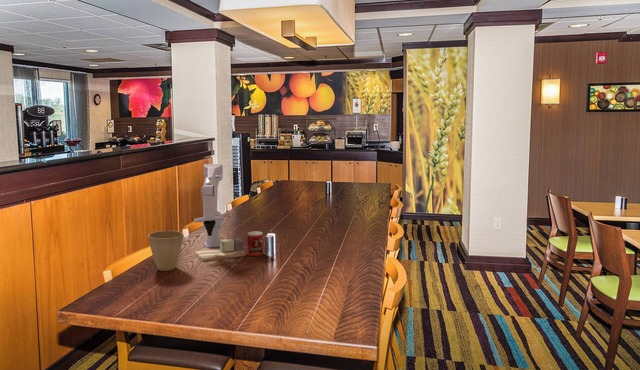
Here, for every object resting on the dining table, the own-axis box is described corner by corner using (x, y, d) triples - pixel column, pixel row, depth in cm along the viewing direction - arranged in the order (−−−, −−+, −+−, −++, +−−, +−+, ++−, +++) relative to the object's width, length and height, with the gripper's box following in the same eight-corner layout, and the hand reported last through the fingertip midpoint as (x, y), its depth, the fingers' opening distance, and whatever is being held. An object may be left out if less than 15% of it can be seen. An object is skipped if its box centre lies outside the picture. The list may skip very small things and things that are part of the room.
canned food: (248, 257, 244) (248, 235, 243) (246, 252, 252) (246, 231, 250) (264, 255, 246) (264, 234, 245) (261, 251, 254) (261, 230, 253)
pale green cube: (219, 249, 250) (219, 239, 249) (231, 248, 253) (231, 238, 252) (222, 251, 246) (222, 241, 245) (234, 250, 248) (234, 240, 248)
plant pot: (148, 274, 216) (147, 239, 214) (150, 265, 230) (149, 231, 228) (184, 272, 220) (183, 237, 218) (184, 262, 234) (182, 229, 232)
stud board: (194, 254, 249) (194, 241, 248) (236, 248, 259) (236, 236, 258) (202, 261, 237) (201, 248, 236) (245, 255, 247) (245, 242, 246)
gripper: (196, 211, 239) (197, 238, 241) (225, 209, 246) (226, 235, 248) (192, 209, 246) (193, 235, 248) (221, 206, 252) (222, 232, 254)
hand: (209, 235), depth 248 cm, fingers closed
